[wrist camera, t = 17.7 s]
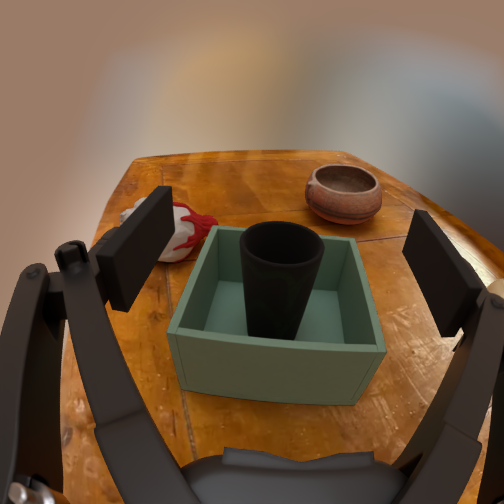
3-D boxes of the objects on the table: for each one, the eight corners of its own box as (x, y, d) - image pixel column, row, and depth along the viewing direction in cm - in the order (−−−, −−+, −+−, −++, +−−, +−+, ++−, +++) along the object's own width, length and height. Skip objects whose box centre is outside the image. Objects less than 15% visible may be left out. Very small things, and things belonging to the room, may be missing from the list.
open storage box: (181, 389, 28) (165, 332, 23) (214, 281, 42) (212, 224, 37) (355, 405, 26) (387, 351, 21) (340, 293, 41) (354, 238, 36)
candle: (120, 244, 48) (201, 233, 56) (132, 282, 40) (227, 265, 48) (118, 194, 44) (205, 187, 51) (128, 223, 36) (234, 212, 43)
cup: (286, 369, 29) (304, 277, 23) (224, 338, 33) (221, 246, 26) (315, 323, 35) (335, 235, 28) (260, 299, 38) (266, 213, 31)
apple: (510, 311, 36) (537, 296, 29) (490, 346, 34) (519, 335, 28) (484, 280, 39) (509, 261, 32) (463, 313, 38) (490, 297, 31)
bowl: (288, 218, 59) (293, 170, 54) (320, 195, 70) (326, 155, 64) (364, 246, 52) (376, 194, 46) (383, 216, 63) (392, 174, 57)
